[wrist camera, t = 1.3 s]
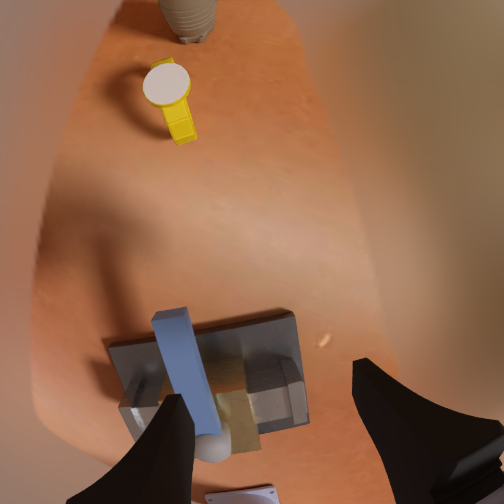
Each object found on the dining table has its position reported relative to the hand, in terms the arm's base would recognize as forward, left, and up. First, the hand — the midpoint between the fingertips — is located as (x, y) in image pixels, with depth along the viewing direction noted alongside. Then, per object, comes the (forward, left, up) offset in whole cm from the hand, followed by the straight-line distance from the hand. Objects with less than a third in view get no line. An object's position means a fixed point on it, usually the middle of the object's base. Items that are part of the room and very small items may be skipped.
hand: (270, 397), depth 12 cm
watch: (+15, +2, -12) cm, 20 cm away
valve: (-7, +4, -12) cm, 14 cm away
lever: (-3, +4, -6) cm, 8 cm away
